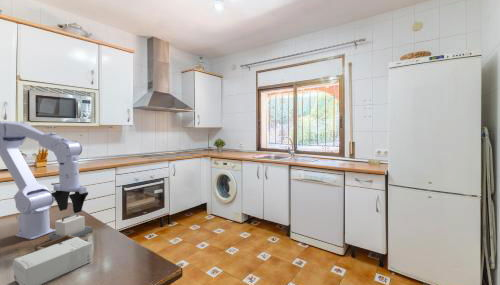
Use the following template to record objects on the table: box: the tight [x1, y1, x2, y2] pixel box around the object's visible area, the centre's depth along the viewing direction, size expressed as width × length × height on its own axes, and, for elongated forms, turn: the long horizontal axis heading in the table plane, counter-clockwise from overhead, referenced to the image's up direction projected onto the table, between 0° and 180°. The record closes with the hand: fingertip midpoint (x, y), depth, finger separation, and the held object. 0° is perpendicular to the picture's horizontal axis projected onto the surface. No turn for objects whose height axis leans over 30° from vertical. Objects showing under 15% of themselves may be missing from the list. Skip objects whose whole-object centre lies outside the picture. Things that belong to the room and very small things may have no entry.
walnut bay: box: [34, 235, 89, 252], centre depth 75 cm, size 10×9×3 cm
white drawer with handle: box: [54, 212, 86, 237], centre depth 86 cm, size 5×7×7 cm
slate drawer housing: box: [48, 225, 93, 241], centre depth 87 cm, size 8×10×2 cm
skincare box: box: [12, 237, 93, 285], centre depth 65 cm, size 8×6×15 cm
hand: (70, 211), depth 86 cm, fingers open, 7 cm apart
